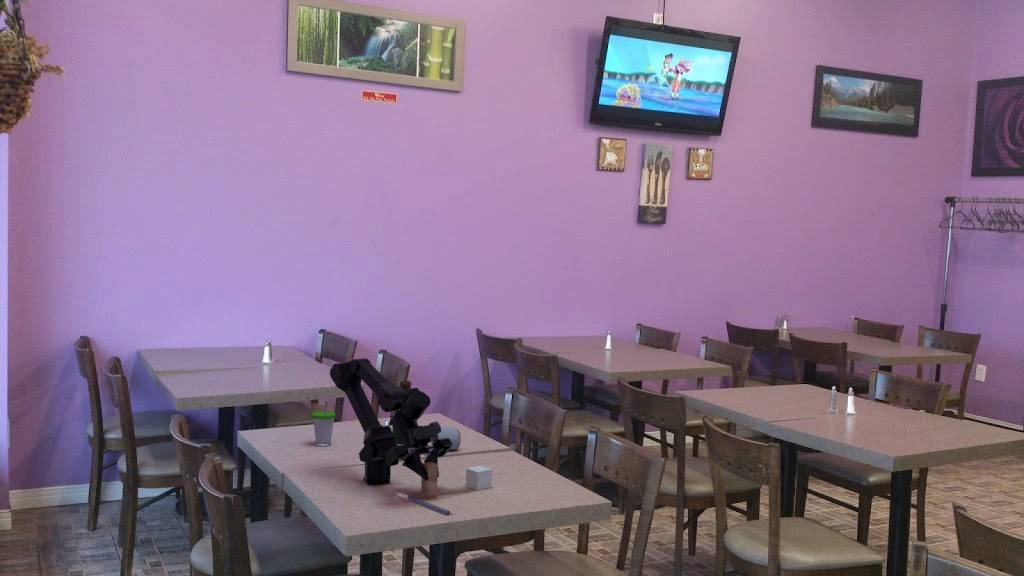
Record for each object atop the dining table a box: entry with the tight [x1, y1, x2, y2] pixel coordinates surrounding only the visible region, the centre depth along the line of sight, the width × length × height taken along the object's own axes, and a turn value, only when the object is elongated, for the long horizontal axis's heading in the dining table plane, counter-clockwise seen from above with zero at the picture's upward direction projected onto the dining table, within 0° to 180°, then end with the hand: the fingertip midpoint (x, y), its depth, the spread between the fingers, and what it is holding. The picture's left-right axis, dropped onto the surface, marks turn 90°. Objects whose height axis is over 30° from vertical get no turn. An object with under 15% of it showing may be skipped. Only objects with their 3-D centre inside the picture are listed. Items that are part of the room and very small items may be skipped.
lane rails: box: [406, 495, 451, 516], centre depth 256 cm, size 17×25×1 cm
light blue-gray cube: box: [465, 465, 493, 491], centre depth 264 cm, size 5×5×5 cm
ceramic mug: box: [430, 426, 462, 451], centre depth 312 cm, size 11×8×8 cm
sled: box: [416, 462, 495, 502], centre depth 259 cm, size 6×22×10 cm, turn 132°
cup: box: [311, 401, 337, 445], centre depth 313 cm, size 8×8×15 cm
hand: (432, 478), depth 252 cm, fingers closed on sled, 3 cm apart
